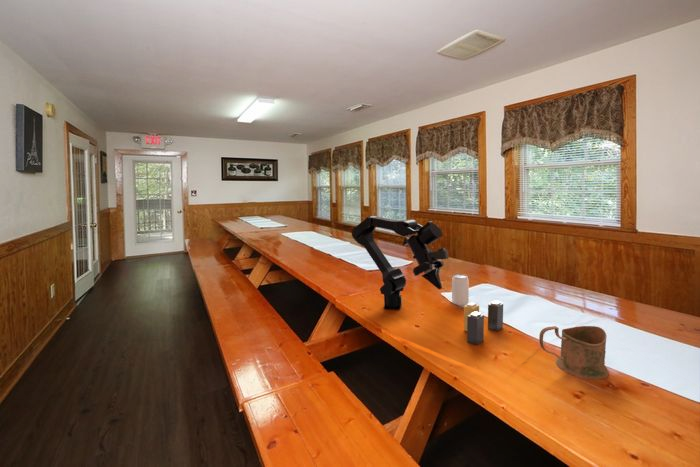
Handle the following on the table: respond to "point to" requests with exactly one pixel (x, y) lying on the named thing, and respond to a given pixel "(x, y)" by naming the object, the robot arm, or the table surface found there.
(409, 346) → the table surface
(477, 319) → the grey columns
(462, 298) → the can
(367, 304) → the table surface
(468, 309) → the tan faceted column
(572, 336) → the mug
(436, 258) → the robot arm
